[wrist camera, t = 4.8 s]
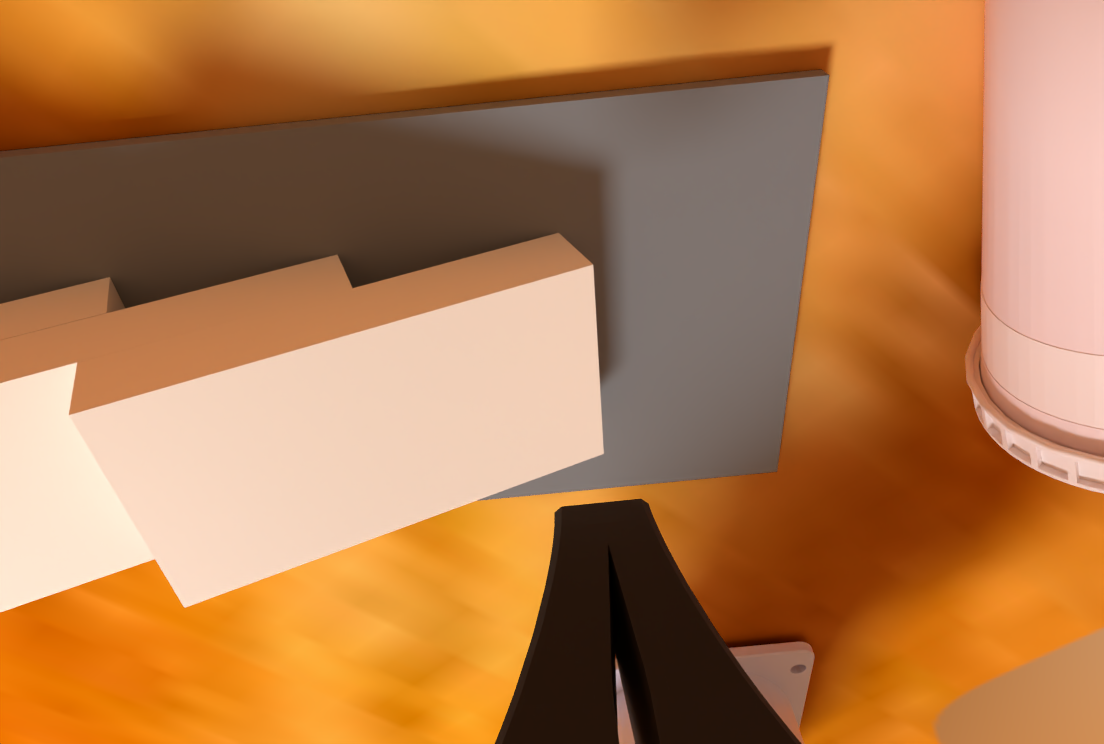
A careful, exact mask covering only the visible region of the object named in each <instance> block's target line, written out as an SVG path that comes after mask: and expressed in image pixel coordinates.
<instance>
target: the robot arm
mask: <svg viewBox="0 0 1104 744" xmlns="http://www.w3.org/2000/svg"><path fill="white" fill-rule="evenodd" d="M615 655H616V659H615ZM814 658H815V656H814V652H813V650H812V647H811V646H810V645H809V644H808V643H805V642H787V643H777V644H766V645H755V646H745V647H734V648H728V647H727V645H726V644H725V642H724V641H723V639H722V638H721V636H720V635H719V633H718V632H717V630H716V629H715V627H714V626H713V624H712V623H711V621H710V619H709V618H708V616H707V615H706V613H705V611H704V610H703V608H702V607H701V605H700V603H699V602H698V600H697V599H696V597H695V595H694V594H693V592H692V591H691V589H690V587H689V586H688V584H687V582H686V580H685V579H684V577H683V575H682V573H681V572H680V570H679V568H678V566H677V564H676V562H675V561H674V559H673V557H672V555H671V553H670V551H669V549H668V547H667V545H666V543H665V541H664V539H663V537H662V535H661V533H660V531H659V529H658V527H657V524H656V522H655V520H654V517H653V515H652V512H651V510H650V507H649V504H648V503H647V502H645V501H644V500H642V499H634V500H624V501H614V502H604V503H594V504H584V505H574V506H564V507H561V508H560V509H558V510H557V511H556V512H555V527H554V538H553V547H552V554H551V560H550V565H549V571H548V576H547V581H546V586H545V590H544V594H543V598H542V602H541V606H540V610H539V613H538V617H537V621H536V625H535V629H534V633H533V636H532V640H531V643H530V646H529V649H528V652H527V655H526V658H525V661H524V665H523V668H522V671H521V674H520V677H519V680H518V683H517V686H516V689H515V692H514V695H513V698H512V700H511V703H510V706H509V709H508V711H507V714H506V717H505V719H504V722H503V725H502V727H501V730H500V732H499V735H498V737H497V740H496V742H495V744H804V742H803V739H802V736H801V733H800V730H799V728H800V723H801V718H802V714H803V709H804V705H805V700H806V695H807V691H808V686H809V681H810V677H811V672H812V668H813V663H814Z"/></svg>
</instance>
